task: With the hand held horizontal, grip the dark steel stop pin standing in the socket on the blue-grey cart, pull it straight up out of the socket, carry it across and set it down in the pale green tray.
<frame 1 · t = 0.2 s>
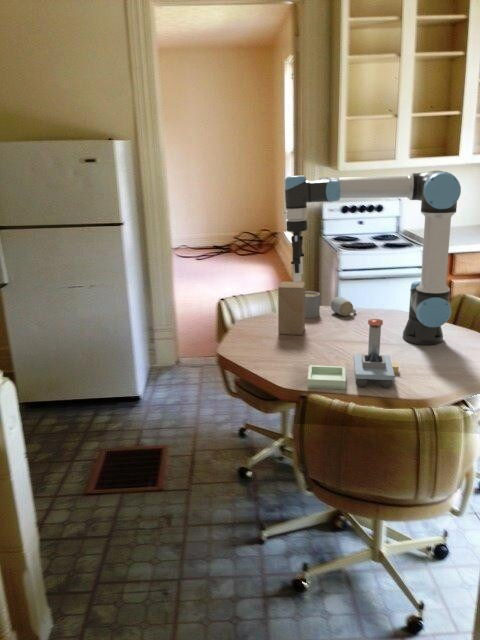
hand: (298, 277, 210), 27 cm above the table, tool pointing down, fingers open, 13 cm apart
wooden block: (291, 331, 237), on the table
cart: (372, 378, 188), on the table
stop pin: (373, 364, 186), point 5 cm above the table, touching cart
ceramic mug: (344, 314, 259), on the table
tray: (326, 381, 186), on the table
grey cylindrical piece: (310, 314, 259), on the table
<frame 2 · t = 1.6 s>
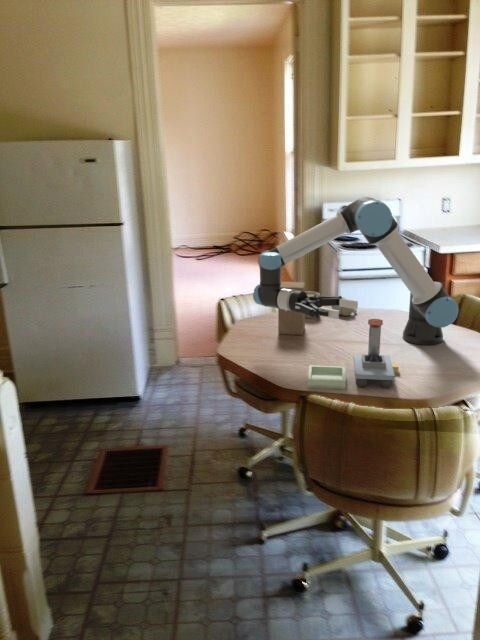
hand: (348, 310, 187), 22 cm above the table, tool horizontal, fingers open, 13 cm apart
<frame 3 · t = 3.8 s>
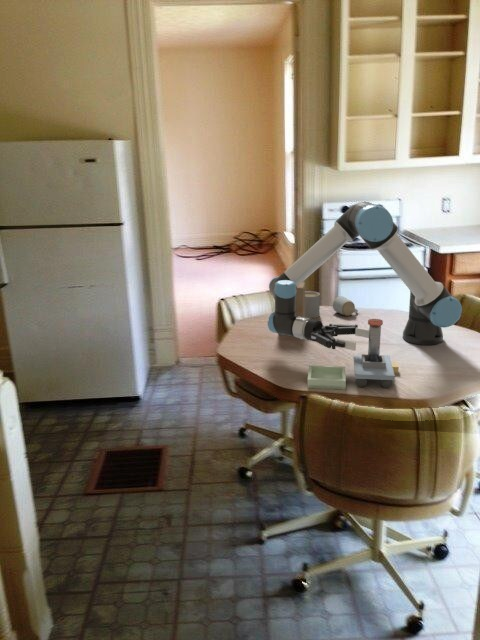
hand: (364, 340, 185), 13 cm above the table, tool horizontal, fingers open, 13 cm apart
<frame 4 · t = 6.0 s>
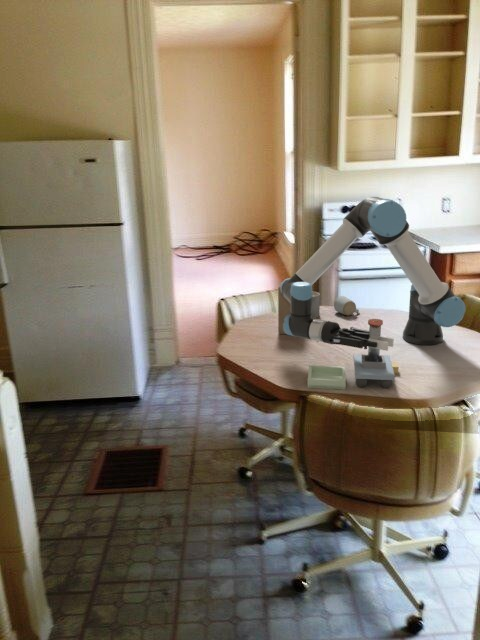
hand: (390, 344, 181), 13 cm above the table, tool horizontal, fingers closed on stop pin, 3 cm apart
stop pin: (373, 364, 186), point 5 cm above the table, touching cart, gripper
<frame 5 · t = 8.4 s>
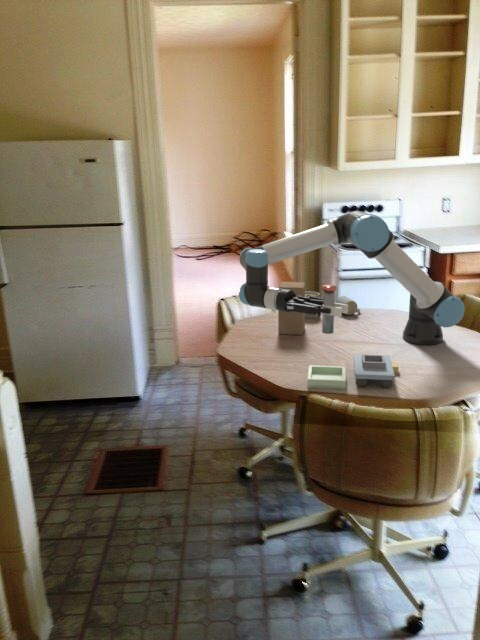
hand: (344, 310, 176), 25 cm above the table, tool horizontal, fingers closed on stop pin, 3 cm apart
stop pin: (327, 332, 181), point 17 cm above the table, touching gripper
when the fingers open (10 cm above the table, at t = 11.3 s): stop pin drops 1 cm, resting on tray.
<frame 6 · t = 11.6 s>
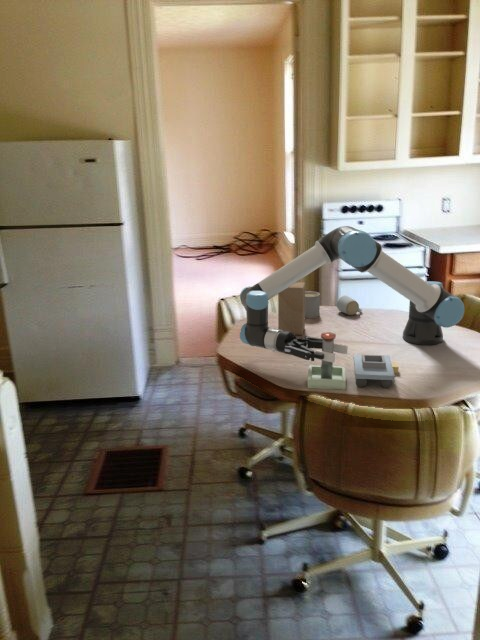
hand: (340, 354, 180), 10 cm above the table, tool horizontal, fingers open, 8 cm apart
stop pin: (326, 378, 186), point 1 cm above the table, touching tray
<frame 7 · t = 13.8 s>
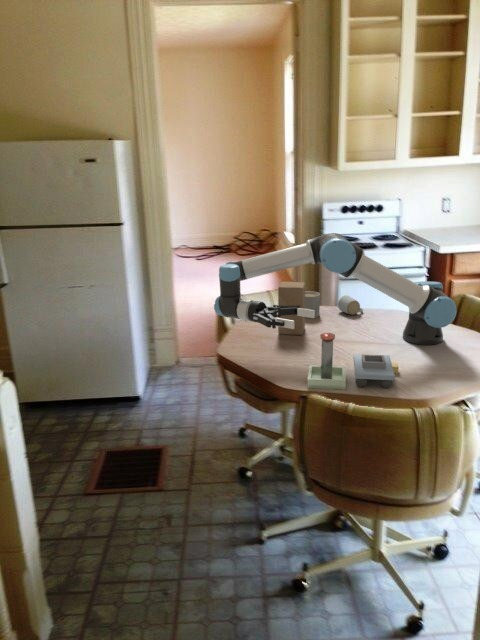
hand: (304, 319, 190), 18 cm above the table, tool horizontal, fingers open, 13 cm apart
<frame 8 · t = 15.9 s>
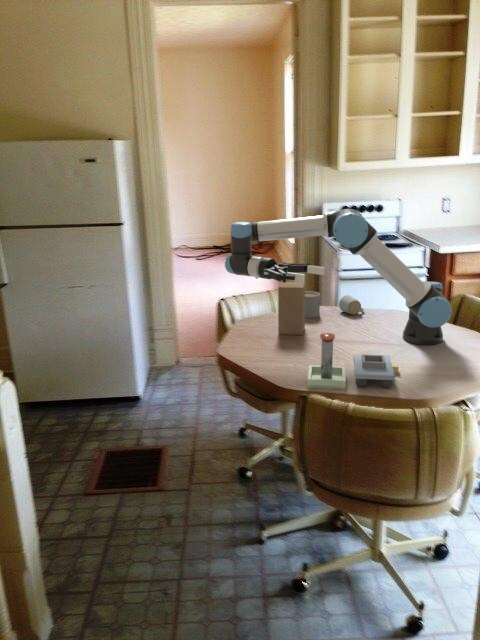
hand: (314, 274, 193), 32 cm above the table, tool horizontal, fingers open, 13 cm apart
at the end: stop pin inside the target area on the tray (0.1 cm from its centre), point 1.0 cm above the tray's base; the gripper is holding nothing; stop pin touching tray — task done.
